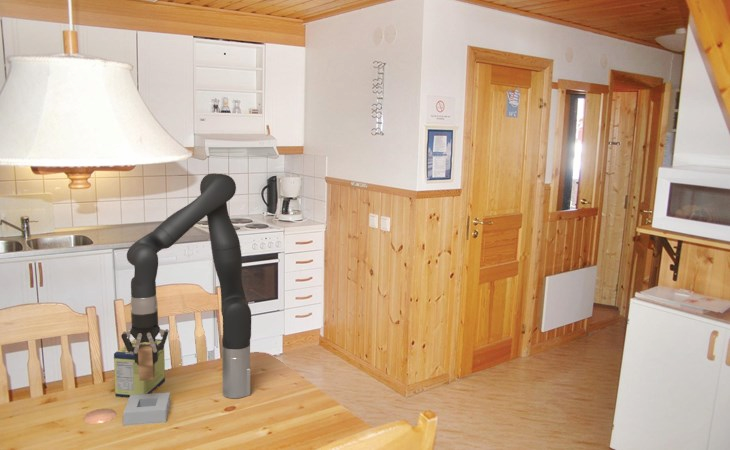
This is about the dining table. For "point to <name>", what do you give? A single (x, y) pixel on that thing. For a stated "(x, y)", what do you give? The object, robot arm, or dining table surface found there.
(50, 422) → the dining table surface
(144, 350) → the walnut block
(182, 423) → the dining table surface
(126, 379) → the protein box
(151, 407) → the pocket holder
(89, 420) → the coaster
